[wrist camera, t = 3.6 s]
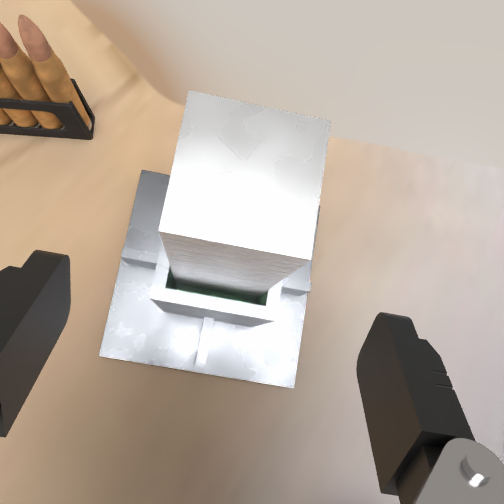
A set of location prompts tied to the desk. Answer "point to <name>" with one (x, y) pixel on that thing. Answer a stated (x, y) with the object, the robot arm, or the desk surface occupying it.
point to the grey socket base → (198, 310)
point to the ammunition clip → (39, 89)
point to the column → (242, 196)
